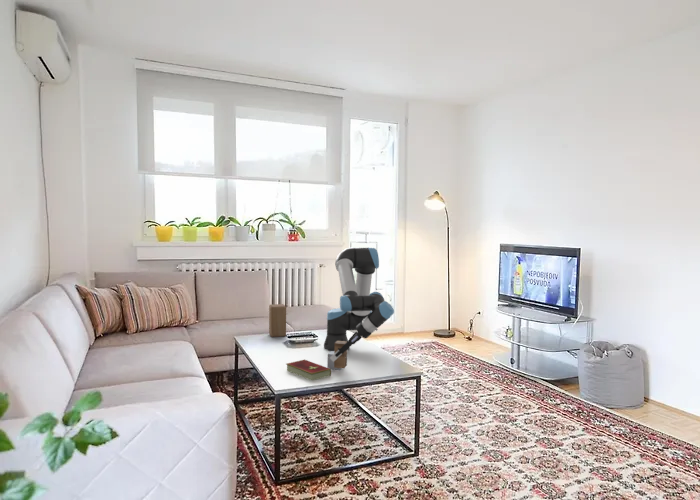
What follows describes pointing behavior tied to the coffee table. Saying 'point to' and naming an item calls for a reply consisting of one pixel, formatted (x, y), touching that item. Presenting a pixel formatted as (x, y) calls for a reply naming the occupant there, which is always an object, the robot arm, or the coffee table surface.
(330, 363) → the grey block
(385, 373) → the coffee table surface
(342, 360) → the walnut block
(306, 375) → the hardcover book
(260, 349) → the coffee table surface
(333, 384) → the coffee table surface
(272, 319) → the block
